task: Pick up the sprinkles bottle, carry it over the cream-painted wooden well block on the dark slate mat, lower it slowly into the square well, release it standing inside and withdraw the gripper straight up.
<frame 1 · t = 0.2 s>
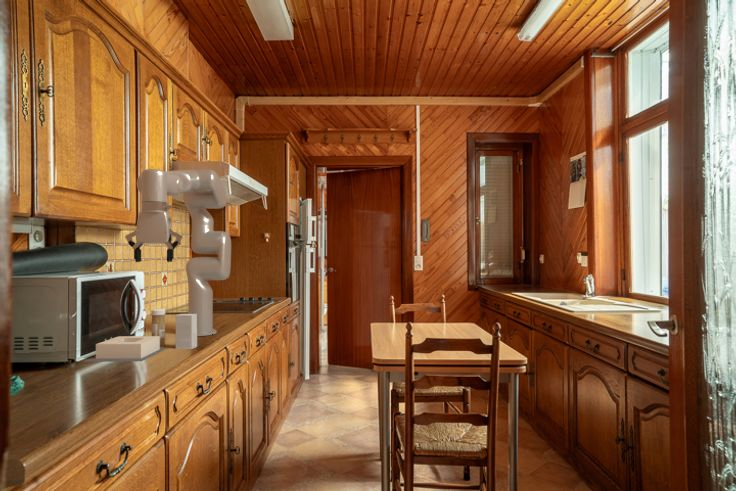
hand: (153, 261, 153), 31 cm above the counter, tool pointing down, fingers open, 9 cm apart
sprinkles bottle: (158, 347, 170), on the counter
slate mat: (127, 355, 155), on the counter
skincare box: (186, 349, 167), on the counter
well: (129, 353, 156), resting on slate mat
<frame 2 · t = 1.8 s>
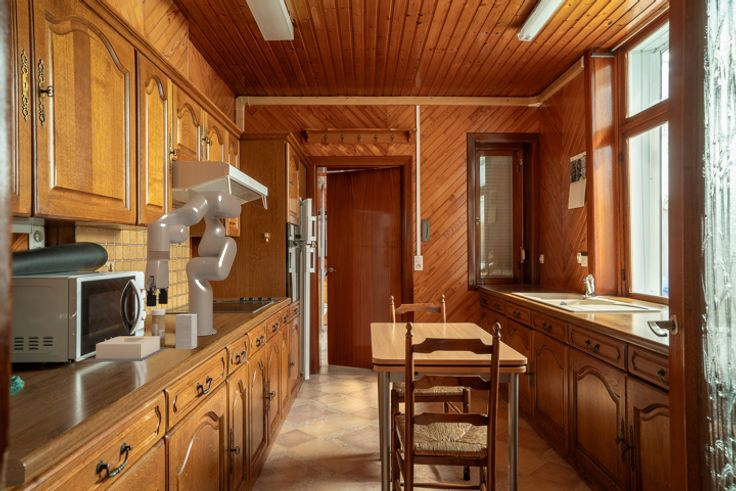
hand: (157, 305, 169), 15 cm above the counter, tool pointing down, fingers open, 9 cm apart
nothing on the counter moved.
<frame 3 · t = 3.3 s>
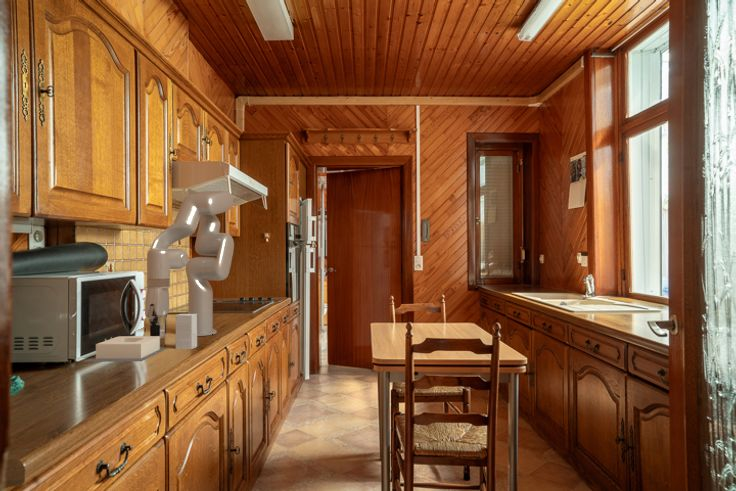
hand: (158, 334, 170), 4 cm above the counter, tool pointing down, fingers closed on sprinkles bottle, 4 cm apart
sprinkles bottle: (158, 347, 170), on the counter, touching gripper
everything else where it was.
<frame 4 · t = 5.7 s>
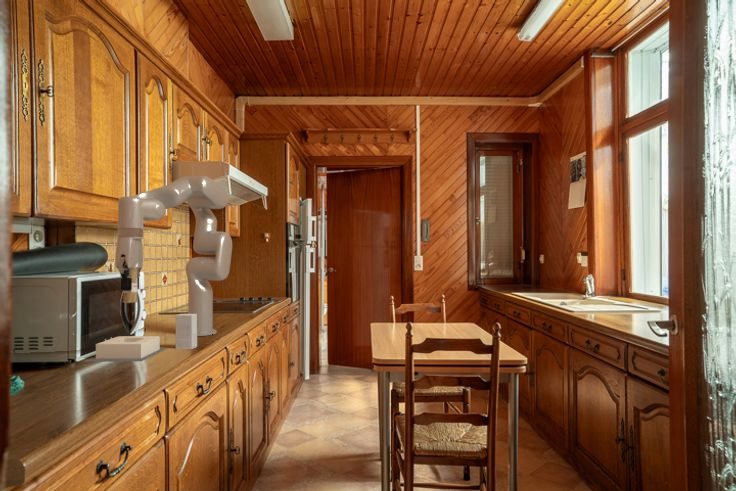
hand: (130, 289, 157), 21 cm above the counter, tool pointing down, fingers closed on sprinkles bottle, 4 cm apart
sprinkles bottle: (130, 303, 157), point 17 cm above the counter, touching gripper
everything else where it was.
when the fingers open (6 cm above the counter, at t = 8.1 s): sprinkles bottle stays where it is, resting on slate mat.
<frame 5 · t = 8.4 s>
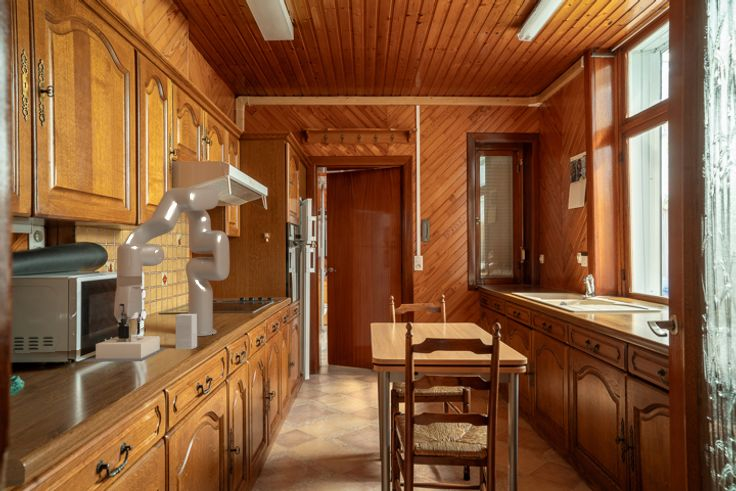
hand: (129, 336, 157), 6 cm above the counter, tool pointing down, fingers open, 6 cm apart
sprinkles bottle: (129, 354, 157), resting on slate mat
everything else where it was.
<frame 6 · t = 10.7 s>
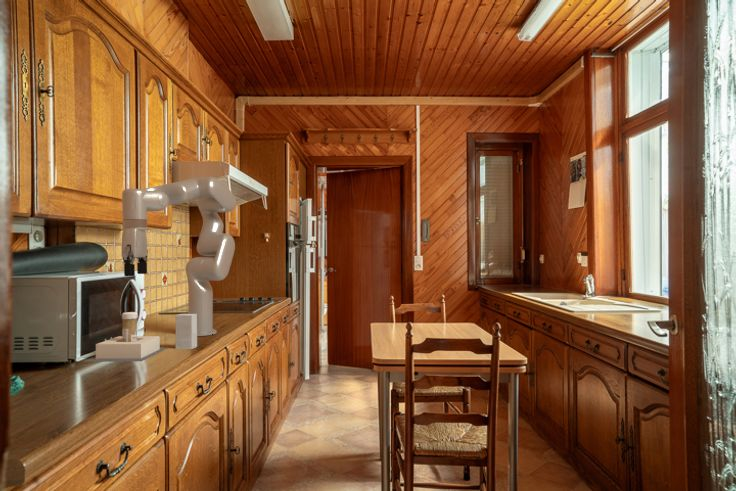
hand: (136, 274, 164), 26 cm above the counter, tool pointing down, fingers open, 9 cm apart
nothing on the counter moved.
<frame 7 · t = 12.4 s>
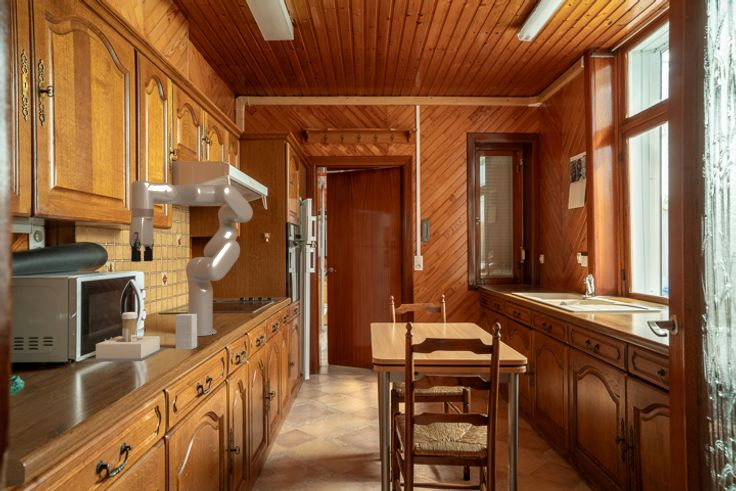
hand: (142, 261, 175), 30 cm above the counter, tool pointing down, fingers open, 9 cm apart
nothing on the counter moved.
at the end: sprinkles bottle 0.2 cm off-centre on the well, point 0.0 cm above the well's base; sprinkles bottle tilted 0°; the gripper is holding nothing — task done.
